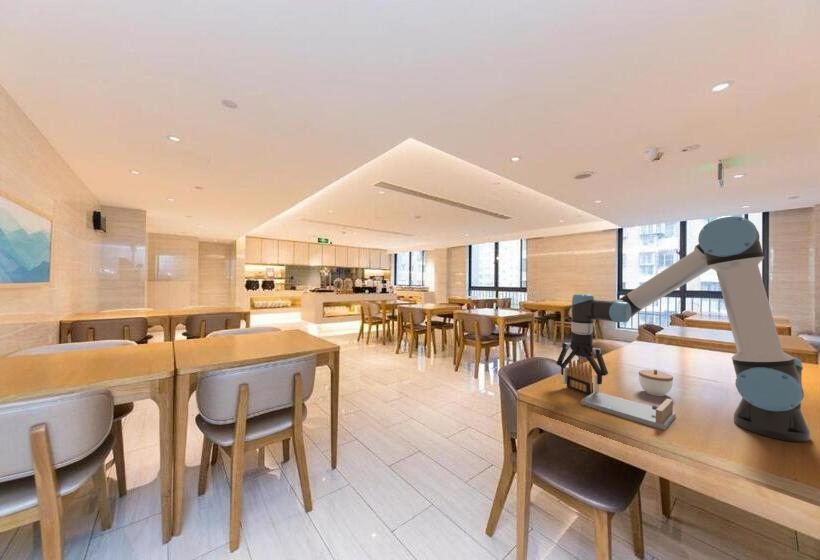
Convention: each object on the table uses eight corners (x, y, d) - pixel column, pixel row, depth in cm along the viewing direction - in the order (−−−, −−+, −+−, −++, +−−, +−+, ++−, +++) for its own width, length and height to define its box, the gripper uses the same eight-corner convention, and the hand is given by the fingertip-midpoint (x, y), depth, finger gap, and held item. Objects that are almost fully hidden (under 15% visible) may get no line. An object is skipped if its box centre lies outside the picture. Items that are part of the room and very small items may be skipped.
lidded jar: (660, 389, 129) (660, 366, 128) (679, 399, 118) (680, 374, 118) (632, 387, 130) (632, 365, 129) (649, 398, 119) (650, 373, 119)
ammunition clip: (593, 396, 120) (593, 365, 120) (590, 396, 120) (590, 365, 120) (569, 386, 130) (570, 358, 130) (566, 387, 130) (566, 358, 129)
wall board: (675, 417, 103) (675, 400, 103) (664, 430, 94) (665, 412, 94) (595, 395, 121) (595, 381, 121) (580, 404, 112) (580, 389, 112)
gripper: (619, 336, 117) (617, 394, 118) (556, 327, 136) (555, 377, 136) (611, 338, 113) (610, 399, 113) (548, 329, 131) (547, 381, 131)
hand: (580, 387), depth 125 cm, fingers open, 11 cm apart
